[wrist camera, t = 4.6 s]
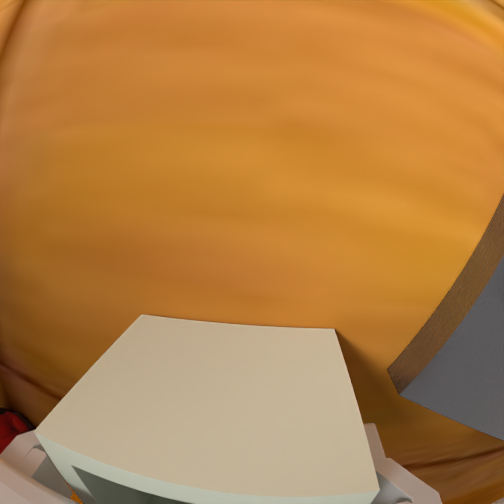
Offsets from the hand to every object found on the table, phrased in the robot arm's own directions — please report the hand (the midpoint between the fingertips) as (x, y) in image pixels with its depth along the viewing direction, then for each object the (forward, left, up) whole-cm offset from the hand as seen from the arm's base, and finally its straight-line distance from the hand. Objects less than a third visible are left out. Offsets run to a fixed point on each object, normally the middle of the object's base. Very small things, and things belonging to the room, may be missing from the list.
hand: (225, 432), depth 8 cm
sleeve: (0, 0, -2) cm, 2 cm away
